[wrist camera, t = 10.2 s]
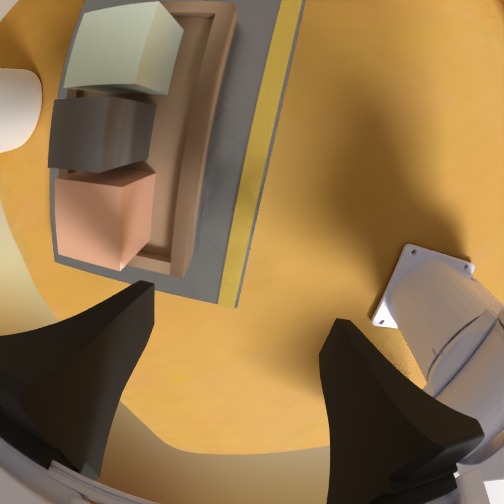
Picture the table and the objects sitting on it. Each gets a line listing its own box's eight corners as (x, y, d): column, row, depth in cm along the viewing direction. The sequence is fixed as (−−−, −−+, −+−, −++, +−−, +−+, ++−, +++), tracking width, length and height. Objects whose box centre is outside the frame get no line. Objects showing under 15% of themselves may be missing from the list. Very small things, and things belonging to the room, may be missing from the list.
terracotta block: (155, 172, 14) (122, 187, 10) (150, 239, 16) (120, 271, 12) (96, 165, 14) (54, 178, 10) (95, 228, 15) (58, 254, 12)
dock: (301, 11, 13) (306, -5, 11) (239, 289, 22) (236, 309, 19) (101, 7, 12) (84, -2, 10) (70, 250, 21) (53, 262, 19)
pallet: (239, 22, 12) (224, -39, 5) (193, 257, 18) (160, 322, 12) (110, 24, 11) (48, -7, 5) (82, 233, 18) (22, 276, 11)
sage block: (183, 30, 11) (158, 1, 7) (167, 95, 12) (135, 83, 8) (120, 32, 10) (84, 13, 7) (105, 93, 12) (63, 88, 8)
